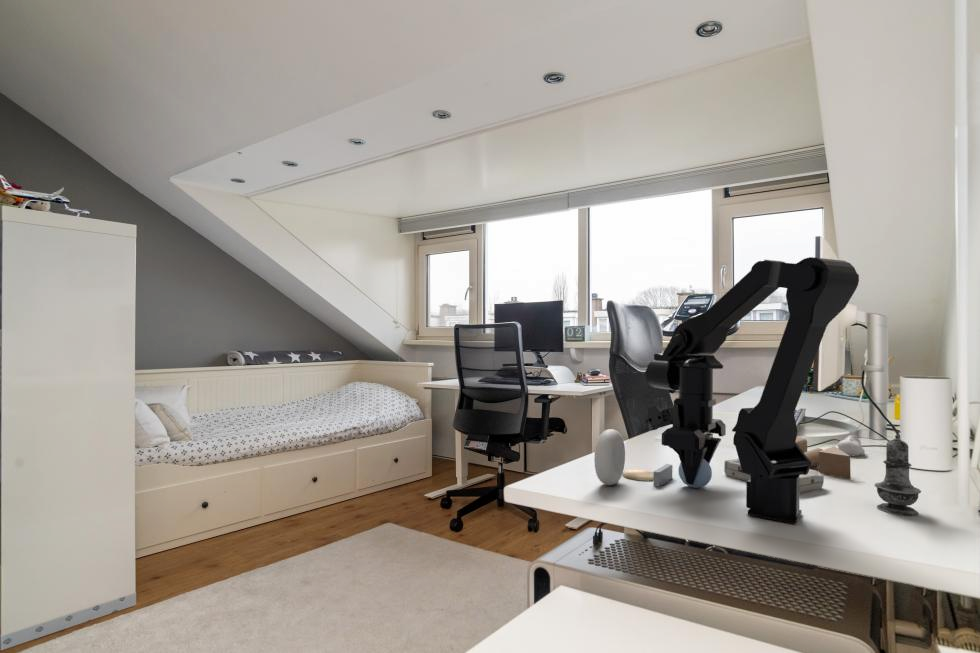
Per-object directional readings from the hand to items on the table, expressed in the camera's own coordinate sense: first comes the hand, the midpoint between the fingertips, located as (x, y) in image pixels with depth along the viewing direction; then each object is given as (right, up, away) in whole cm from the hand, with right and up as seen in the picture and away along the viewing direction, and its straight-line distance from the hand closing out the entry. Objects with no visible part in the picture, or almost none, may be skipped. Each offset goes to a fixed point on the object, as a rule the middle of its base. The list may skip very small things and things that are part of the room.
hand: (695, 480), depth 97 cm
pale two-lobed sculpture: (+49, -3, +31) cm, 58 cm away
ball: (0, +2, 0) cm, 2 cm away
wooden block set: (+33, -3, +19) cm, 39 cm away
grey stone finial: (+27, -2, -12) cm, 30 cm away
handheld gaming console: (+17, -2, +5) cm, 17 cm away
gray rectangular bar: (-5, -1, +4) cm, 6 cm away
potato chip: (-8, -1, +7) cm, 11 cm away
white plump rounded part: (-15, -1, +1) cm, 15 cm away
